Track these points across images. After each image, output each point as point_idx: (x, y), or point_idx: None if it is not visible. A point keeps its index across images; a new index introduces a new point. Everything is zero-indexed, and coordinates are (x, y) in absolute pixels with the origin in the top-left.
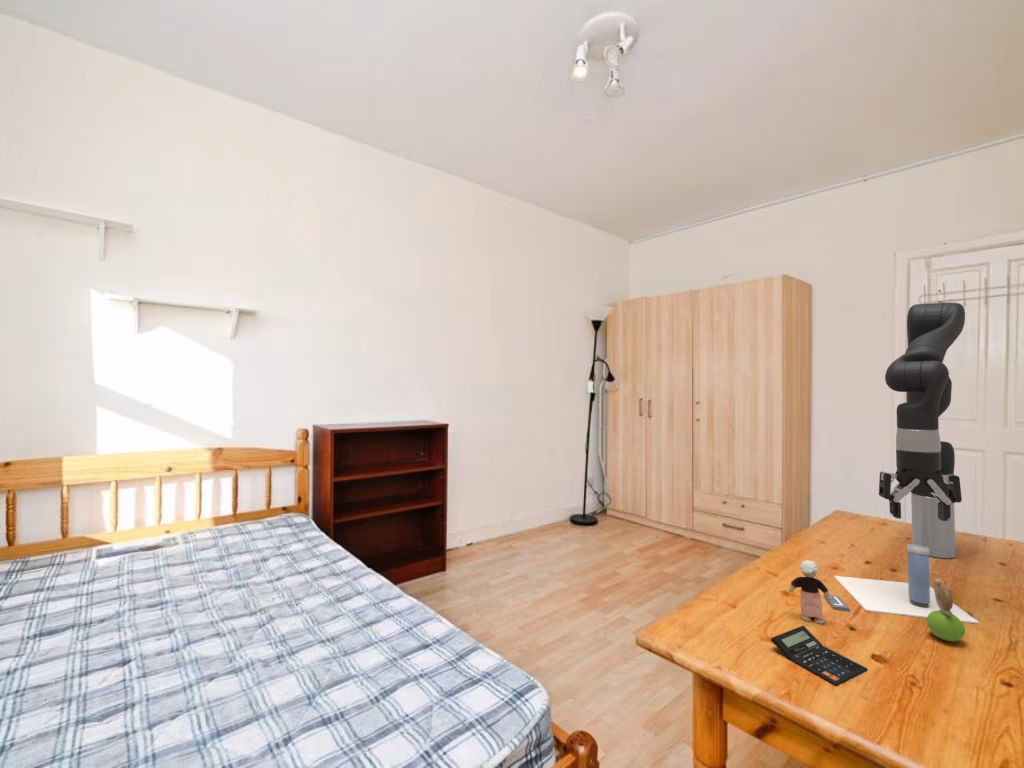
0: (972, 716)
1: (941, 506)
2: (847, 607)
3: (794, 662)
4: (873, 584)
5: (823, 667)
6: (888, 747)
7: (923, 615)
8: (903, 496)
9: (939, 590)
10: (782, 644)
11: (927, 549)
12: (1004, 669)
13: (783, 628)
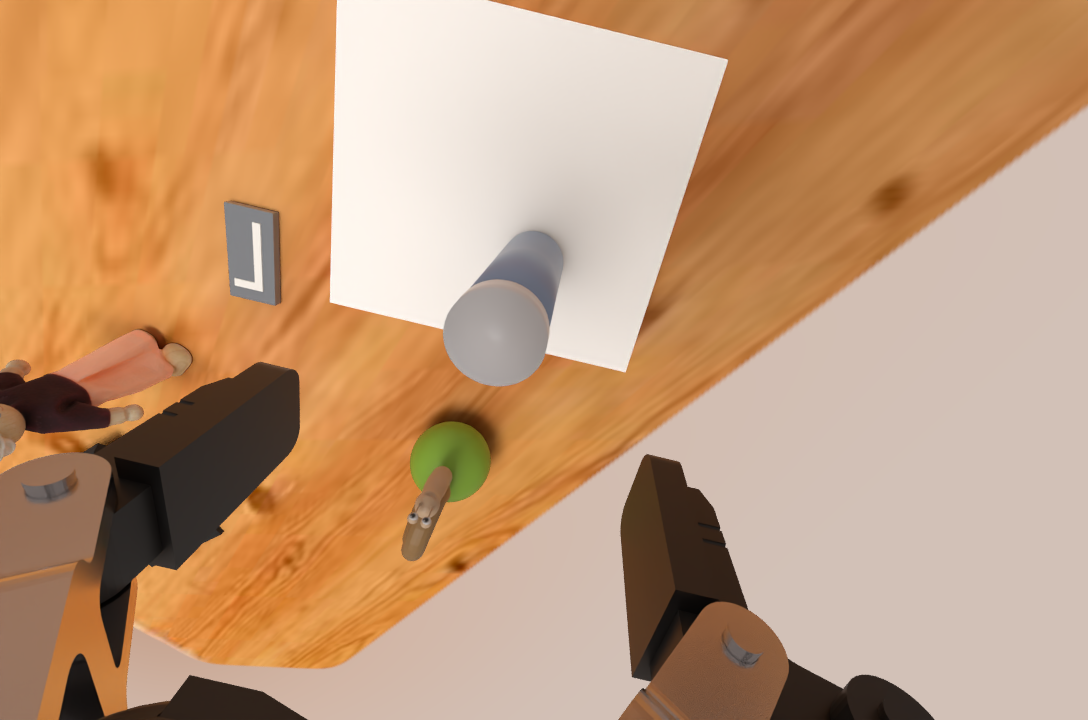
0: (335, 618)
1: (640, 620)
2: (272, 299)
3: None
4: (473, 72)
5: None
6: (190, 651)
7: None
8: (119, 679)
9: (406, 529)
10: None
11: (515, 383)
12: (494, 533)
13: None
